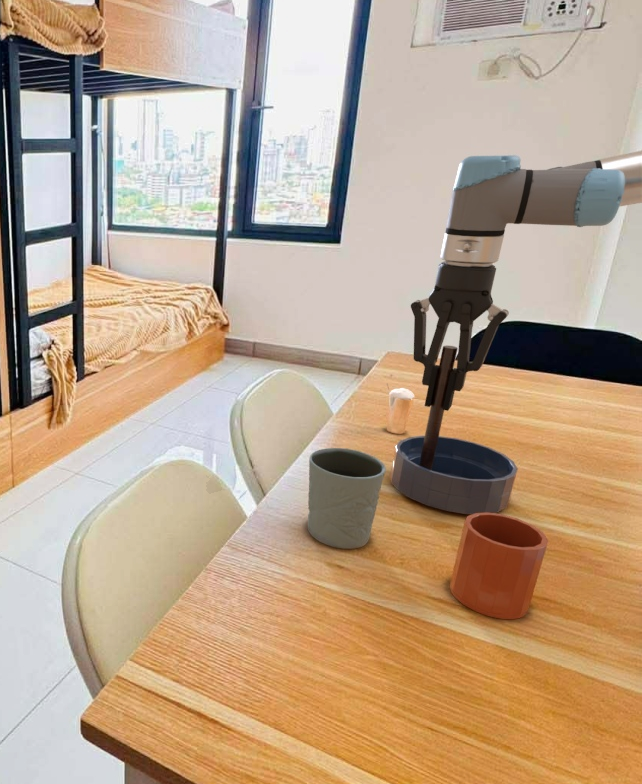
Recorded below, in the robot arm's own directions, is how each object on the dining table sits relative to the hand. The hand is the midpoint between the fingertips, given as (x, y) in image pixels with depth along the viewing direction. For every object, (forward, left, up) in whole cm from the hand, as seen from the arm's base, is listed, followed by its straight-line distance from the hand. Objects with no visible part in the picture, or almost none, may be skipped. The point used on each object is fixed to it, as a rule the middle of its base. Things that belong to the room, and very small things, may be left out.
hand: (437, 405), depth 104 cm
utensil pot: (-14, +28, -15) cm, 34 cm away
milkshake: (+10, -22, -15) cm, 28 cm away
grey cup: (+6, +25, -15) cm, 30 cm away
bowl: (-4, 0, -15) cm, 15 cm away
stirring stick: (0, 0, -12) cm, 12 cm away
